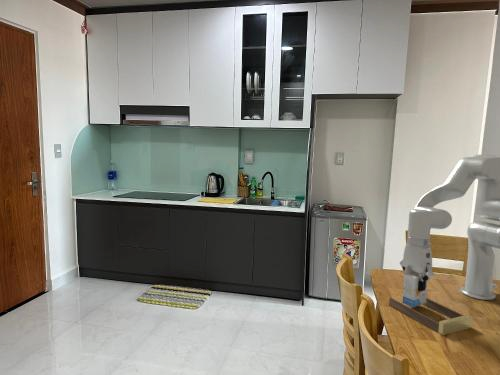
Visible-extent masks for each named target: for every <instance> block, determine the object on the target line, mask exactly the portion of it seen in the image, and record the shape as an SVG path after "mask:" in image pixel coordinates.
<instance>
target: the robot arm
mask: <svg viewBox="0 0 500 375" xmlns="http://www.w3.org/2000/svg"><path fill="white" fill-rule="evenodd" d="M475 180H478V191H477V198H476V204H475V214H476V216H477V217H479V218H482V219H486V220H490V221H496V222H500V154H490V153H489V154H476V155H474V156H465V157H462V158H460V159H459V160H458V161H457V163H456V164H455V166H454V167H453V168H452V170H451V172H450V173H449V175H448V176H447V177H446V179H444V182H443V183H441V184H440V185H439V186H436V187H434V188H433V189H431V190H430V191H428V192H426V193H425V194H424V195H422V196H421V198H420V199H419V200H418V202H417V203H416V205H415V206H414V208H413V209H411V210H410V211H409V213H408V214H409V215H408V225H407V226H408V227H407V240H406V243H405V247H404V250H403V258H402V260H401V261H399V264H400V266H401V268H402V271H403V274H405V267H406V266H408V269H409V270H412V271H415V272H417V273H419V277H420V281H419V282H418V291H425V288H426V281H429V280H430V279H431V278H434V277H435V274H434V272H433V252H432V248H431V247H430V246H431V245H432V242H430V239H431V238H430V237H431V229H433V230H434V229H435V230H444V229H447V228H449V227H450V226H451V224H452V222H453V216H452V215H451V213H450V212H449V211H447V210H445V209H442V208H441V209H440V208H436V207H435V206H437V205H438V204H440V203H441V204H442V203H443V202H446V201H451V200H455V199H459V198H462V197H464V196H465V195H466V193H467V192H468V190H469V189H470V187H471V186H472V185H473V183H474V181H475ZM466 232H467V233H466V234H467V235H466V236H467V242H468V243H467V245H468V250H467V261H466V272H465V273H466V274H465V282H464V284H465V285H464V286H463V285H462V286H461V287H460V293H462V294H463V295H465V296H467V297H470V298H472V299H473V298H474V299H477V300H481V301H482V300H484V301H492V300H494V299H496V294H495V292H493V290H494V289H495V290H496V289H498V285H497V284H496V283H493V279H494V270H495V260H496V255H495V252H494V249H493V248H495V249H498V250H499V249H500V224H497V223H493V222H487V221H480V220H479V221H478V220H477V221H473V222H471V223H470V224H469V225H468V226H467V231H466ZM427 274H428V275H427ZM423 275H424V277H423Z"/></svg>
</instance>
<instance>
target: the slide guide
mask: <svg viewBox="0 0 500 375" xmlns="http://www.w3.org/2000/svg"><path fill="white" fill-rule="evenodd" d="M422 305H424V306H425V307H427V308H430V309H432V311H433V310H434V311H436V312H437V313H440V314H442V315H443V316H445V317H446V318H447V317H448V318H447V319H444V320H443V319H442V320H439V321H436V320H434V319H432V318H430V317H429V316H427V315H424V314H422V313H421V312H419V311H417V310H415V309H413V308H412V307H411V306H409V305H406V304H404V303H403V302H402V303H401V302H400V301H398V300H396V299H394V298H393V297H389V301H388V306H391V308H394V309H395V310H397V311H398V312H401V313H402V314H405V315H406V316H408V317H410V318H412V319H413V320H415V321H416V322H419V323H420V324H422V325H424V326H426V327H428V328H429V329H431V330H433V331H435V332H436V333H438V334H440V335H441V336H444V335H448V334H452V333H456V332H460V331H463V330H464V331H465V330H468V329H471V328H473V319H474V318H473V316H472V315H471V314H465V315H464V314H462V313H460V312H458V311H456V310H454V309H451V308H449V307H447V306H446V305H443V304H441V303H438V302H437V301H434V300H433V299H430V298H428V297H426V303H424V304H422Z"/></svg>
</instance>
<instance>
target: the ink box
mask: <svg viewBox="0 0 500 375" xmlns="http://www.w3.org/2000/svg"><path fill="white" fill-rule="evenodd" d="M403 274H404V273H403ZM427 275H428V273H427ZM423 277H424V275H423ZM419 281H420V277H419V273H417V272H415V271H412V270H409V269H408V266H406V267H405V274H404V276H403V289H402V290H403V291H402V304H404V305H406V306H408V307H410V308H416V307H418V306H421V305H423V304H424V303H426V298H427V295H428V281H429V280H428V281H426V288H425V291H418V282H419Z"/></svg>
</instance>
